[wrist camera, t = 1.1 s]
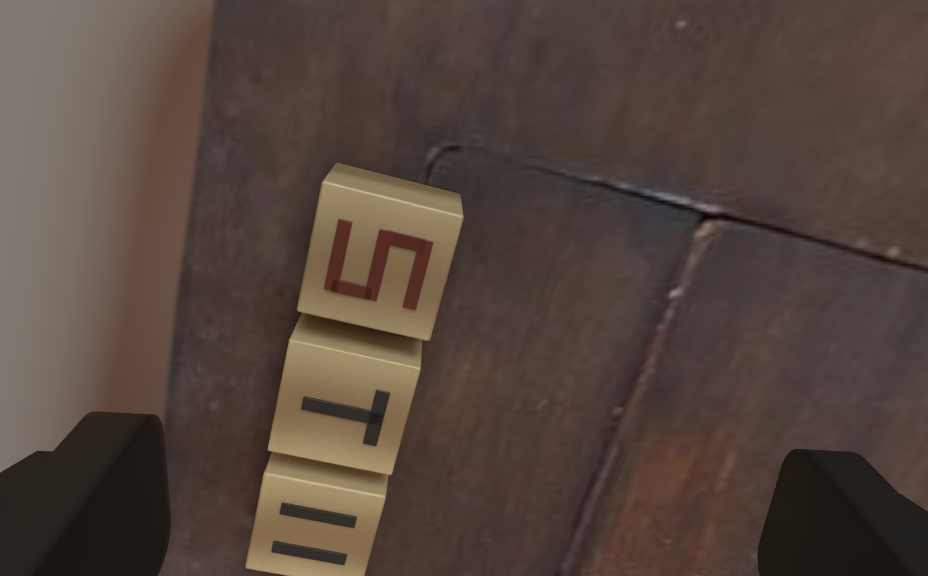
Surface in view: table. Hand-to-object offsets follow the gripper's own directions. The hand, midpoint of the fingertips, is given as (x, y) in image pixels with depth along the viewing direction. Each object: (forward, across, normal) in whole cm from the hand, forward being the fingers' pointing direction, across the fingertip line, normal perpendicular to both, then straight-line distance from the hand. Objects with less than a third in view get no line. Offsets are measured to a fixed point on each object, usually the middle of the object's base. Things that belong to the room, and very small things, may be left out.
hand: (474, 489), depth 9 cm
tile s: (+16, +2, +2) cm, 17 cm away
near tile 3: (+16, +4, +13) cm, 21 cm away
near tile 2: (+16, +3, +7) cm, 18 cm away
